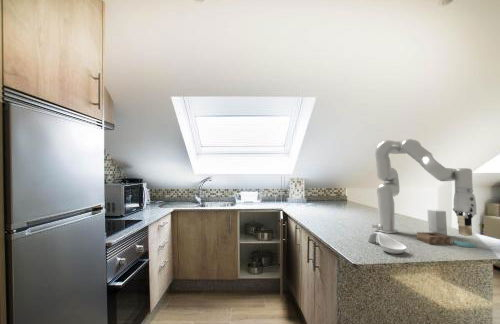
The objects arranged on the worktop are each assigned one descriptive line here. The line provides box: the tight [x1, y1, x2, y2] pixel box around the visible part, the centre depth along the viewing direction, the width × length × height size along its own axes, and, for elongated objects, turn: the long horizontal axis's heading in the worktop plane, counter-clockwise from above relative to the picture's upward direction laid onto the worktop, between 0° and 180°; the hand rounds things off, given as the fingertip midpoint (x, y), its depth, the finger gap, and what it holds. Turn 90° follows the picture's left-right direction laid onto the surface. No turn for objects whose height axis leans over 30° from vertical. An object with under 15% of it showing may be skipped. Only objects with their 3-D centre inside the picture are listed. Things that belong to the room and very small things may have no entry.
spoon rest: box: [367, 231, 408, 255], centre depth 136 cm, size 24×12×7 cm, turn 9°
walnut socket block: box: [416, 231, 452, 245], centre depth 148 cm, size 12×10×4 cm
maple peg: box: [457, 214, 473, 237], centre depth 142 cm, size 4×4×10 cm
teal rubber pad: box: [453, 240, 476, 249], centre depth 142 cm, size 9×9×1 cm
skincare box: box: [427, 209, 448, 236], centre depth 163 cm, size 8×7×16 cm
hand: (464, 224), depth 142 cm, fingers closed on maple peg, 4 cm apart
